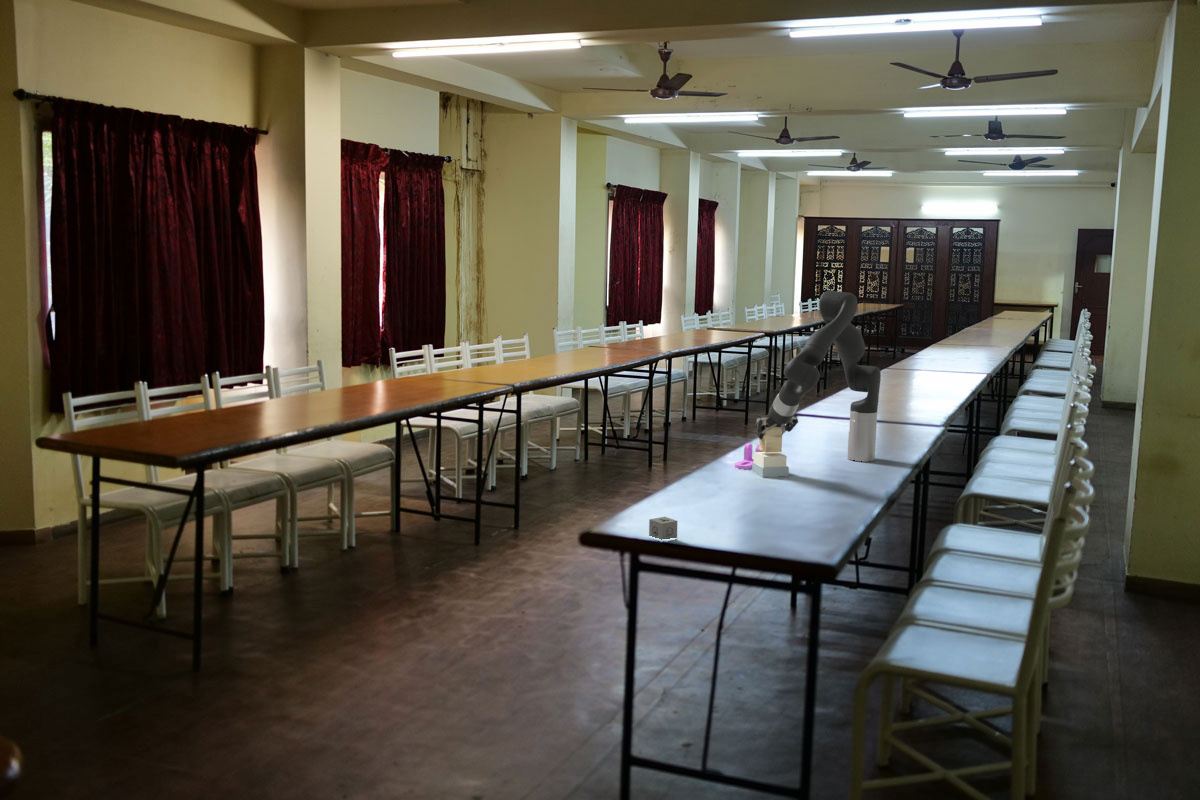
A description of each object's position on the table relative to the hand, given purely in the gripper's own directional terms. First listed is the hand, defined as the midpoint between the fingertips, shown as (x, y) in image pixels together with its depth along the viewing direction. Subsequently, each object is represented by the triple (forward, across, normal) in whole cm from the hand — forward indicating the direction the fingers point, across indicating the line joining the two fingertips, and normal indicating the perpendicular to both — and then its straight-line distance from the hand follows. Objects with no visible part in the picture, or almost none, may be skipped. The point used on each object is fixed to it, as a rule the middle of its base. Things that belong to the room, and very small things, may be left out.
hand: (768, 436), depth 344 cm
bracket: (+17, +2, +1) cm, 17 cm away
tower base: (+8, 0, +10) cm, 13 cm away
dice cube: (-41, +58, +59) cm, 92 cm away
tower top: (+5, 0, +7) cm, 9 cm away
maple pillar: (+2, 0, +4) cm, 5 cm away
